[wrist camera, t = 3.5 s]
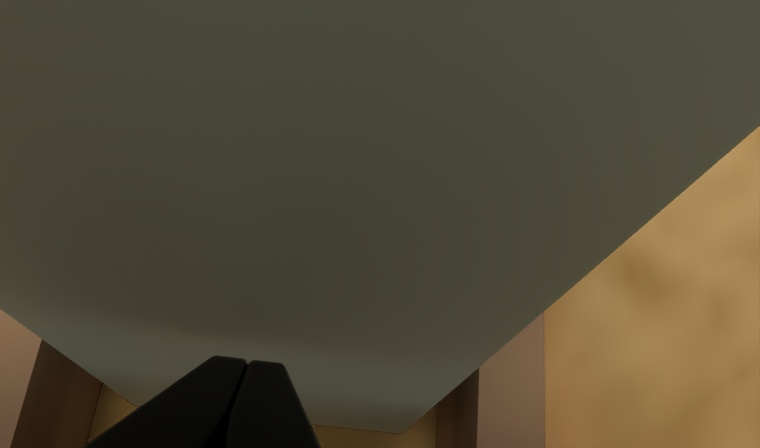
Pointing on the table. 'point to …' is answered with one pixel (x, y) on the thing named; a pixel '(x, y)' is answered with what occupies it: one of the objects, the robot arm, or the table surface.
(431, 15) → the block
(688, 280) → the table surface
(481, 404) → the brown rectangular frame
